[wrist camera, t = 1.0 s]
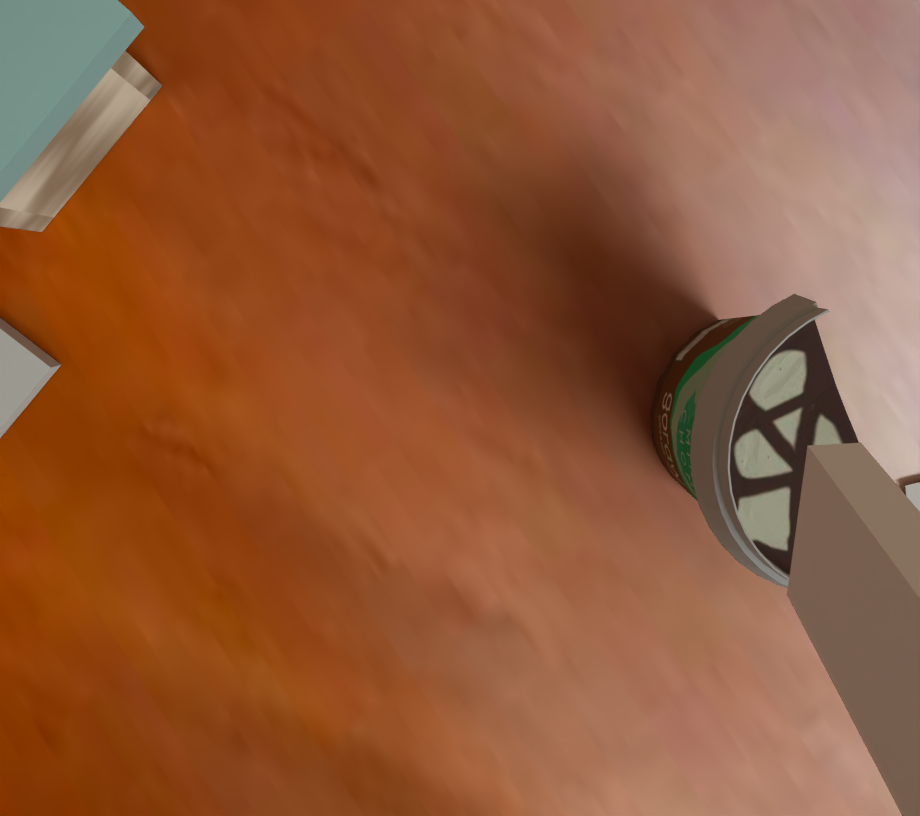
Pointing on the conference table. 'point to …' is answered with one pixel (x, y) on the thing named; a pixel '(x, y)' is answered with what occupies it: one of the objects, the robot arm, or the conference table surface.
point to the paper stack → (913, 494)
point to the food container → (750, 426)
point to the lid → (52, 70)
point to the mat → (20, 373)
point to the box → (79, 146)
